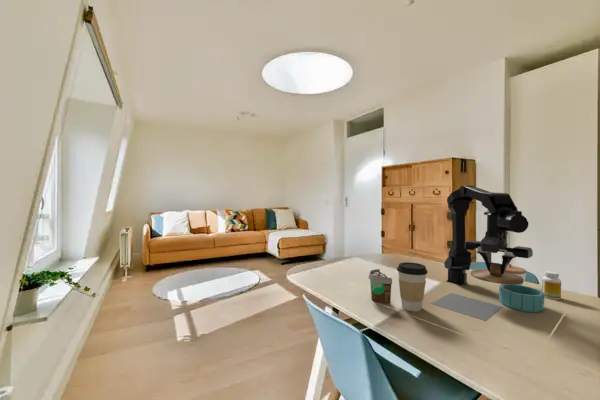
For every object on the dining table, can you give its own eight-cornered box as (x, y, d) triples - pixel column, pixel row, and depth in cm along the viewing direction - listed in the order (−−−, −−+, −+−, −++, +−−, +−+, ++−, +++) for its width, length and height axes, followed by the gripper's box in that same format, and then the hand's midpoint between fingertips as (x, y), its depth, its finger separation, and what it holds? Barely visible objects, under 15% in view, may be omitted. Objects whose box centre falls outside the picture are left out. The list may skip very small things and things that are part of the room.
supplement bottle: (564, 300, 101) (565, 274, 100) (548, 299, 102) (548, 273, 101) (554, 295, 106) (554, 270, 106) (538, 294, 107) (538, 270, 107)
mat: (430, 304, 97) (430, 303, 97) (451, 293, 107) (451, 292, 107) (485, 322, 83) (485, 320, 83) (502, 307, 94) (502, 306, 94)
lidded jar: (514, 282, 122) (514, 261, 122) (532, 290, 111) (532, 267, 111) (489, 281, 123) (489, 260, 123) (504, 289, 112) (504, 267, 112)
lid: (463, 276, 97) (463, 262, 96) (479, 269, 106) (480, 256, 105) (515, 287, 85) (515, 272, 84) (528, 278, 94) (529, 265, 94)
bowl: (494, 305, 96) (495, 288, 96) (505, 297, 104) (505, 281, 104) (539, 317, 87) (539, 298, 87) (546, 307, 94) (547, 290, 94)
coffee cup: (425, 304, 96) (426, 263, 96) (429, 316, 87) (429, 270, 87) (396, 301, 100) (396, 260, 99) (396, 312, 90) (397, 267, 90)
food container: (363, 294, 107) (364, 269, 107) (378, 293, 107) (379, 268, 107) (375, 307, 95) (375, 278, 94) (392, 306, 95) (392, 278, 95)
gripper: (458, 227, 97) (457, 270, 98) (523, 234, 82) (522, 284, 83) (471, 225, 104) (470, 265, 104) (533, 231, 89) (532, 277, 89)
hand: (495, 272), depth 95 cm, fingers closed on lid, 3 cm apart
